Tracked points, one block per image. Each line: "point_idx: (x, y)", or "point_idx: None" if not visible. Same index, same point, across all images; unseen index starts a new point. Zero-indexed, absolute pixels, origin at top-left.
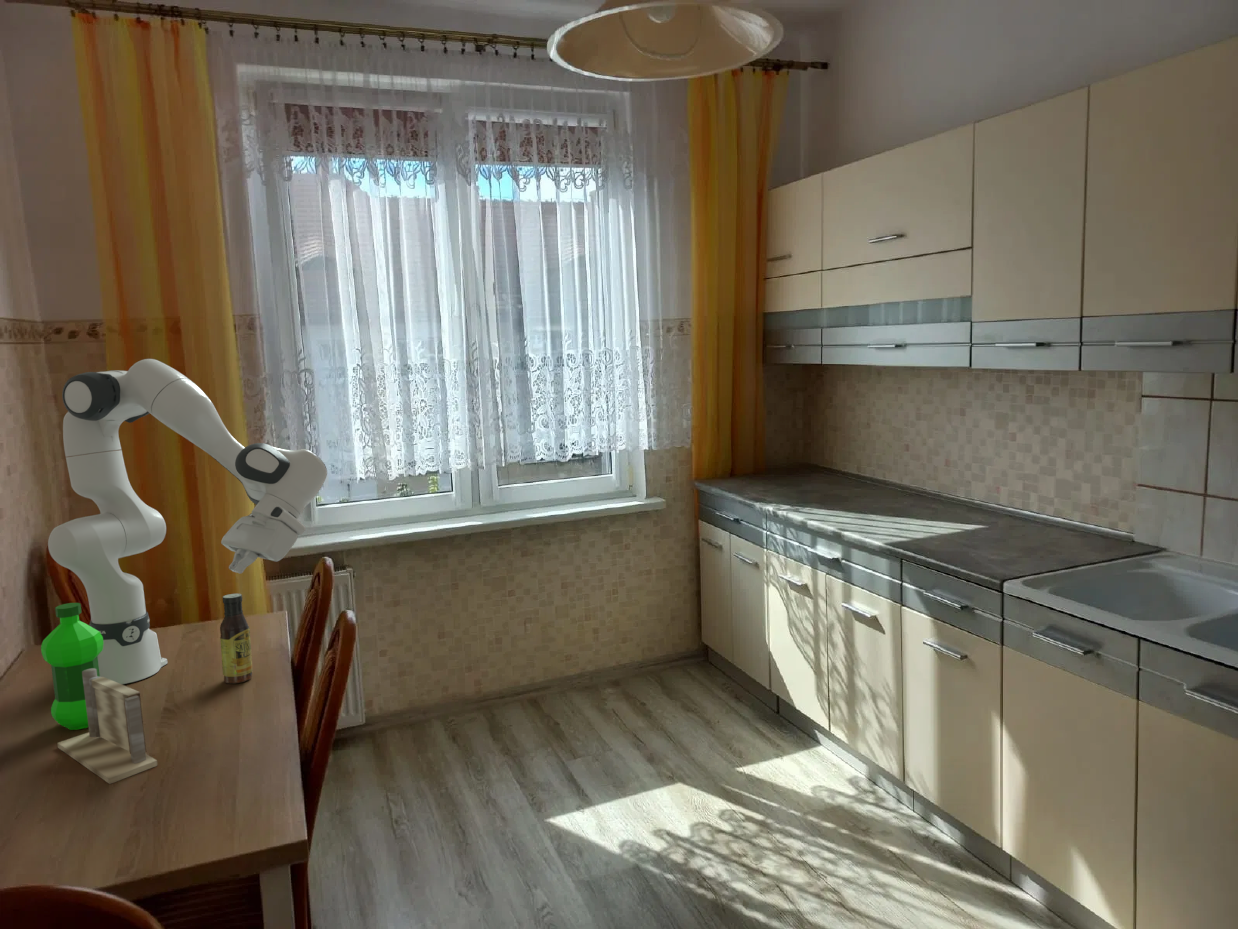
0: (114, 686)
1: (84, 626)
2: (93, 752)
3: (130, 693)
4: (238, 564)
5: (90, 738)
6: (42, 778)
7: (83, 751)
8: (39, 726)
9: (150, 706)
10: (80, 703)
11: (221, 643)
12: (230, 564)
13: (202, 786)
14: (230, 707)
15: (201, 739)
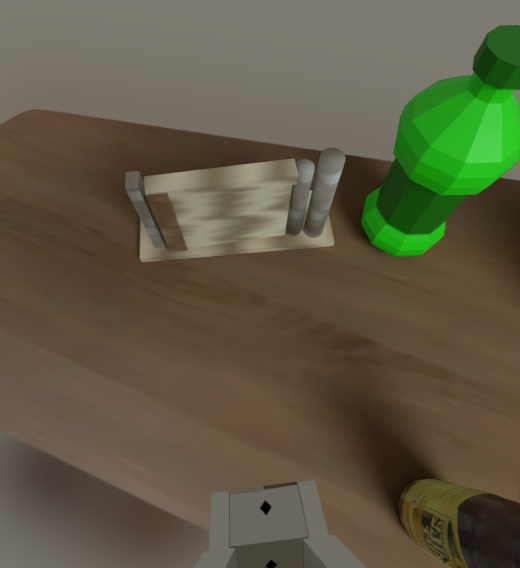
0: (217, 173)
1: (463, 119)
2: None
3: (151, 181)
4: (212, 529)
5: (303, 220)
6: (234, 163)
7: None
8: None
9: (397, 326)
10: (373, 202)
11: (476, 490)
12: (318, 500)
13: (20, 281)
14: (277, 430)
15: (177, 337)
